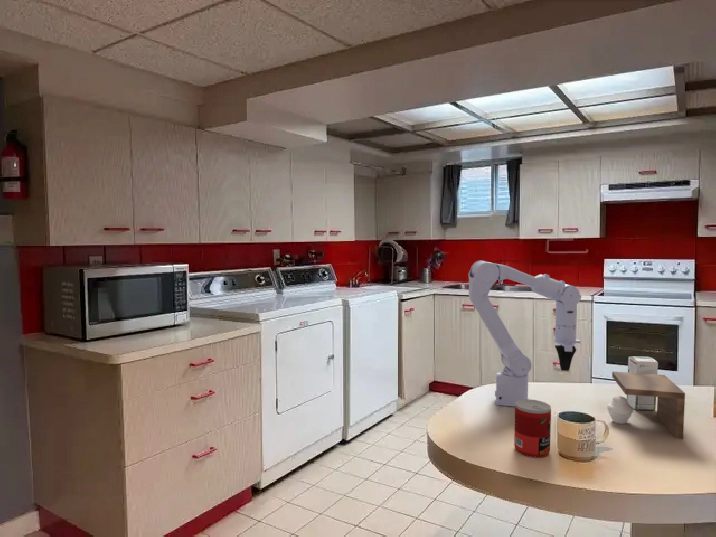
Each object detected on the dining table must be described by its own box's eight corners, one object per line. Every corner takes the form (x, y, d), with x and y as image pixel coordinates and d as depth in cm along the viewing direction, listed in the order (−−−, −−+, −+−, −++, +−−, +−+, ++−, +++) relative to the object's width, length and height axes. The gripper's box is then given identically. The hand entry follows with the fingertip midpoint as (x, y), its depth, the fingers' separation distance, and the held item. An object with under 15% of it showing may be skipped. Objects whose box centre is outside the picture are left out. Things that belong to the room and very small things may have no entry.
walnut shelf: (624, 433, 124) (625, 388, 124) (611, 411, 140) (612, 371, 139) (683, 438, 121) (685, 393, 120) (662, 415, 136) (664, 374, 135)
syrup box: (646, 403, 146) (648, 355, 145) (656, 411, 140) (658, 360, 139) (626, 403, 146) (627, 355, 145) (635, 410, 140) (637, 360, 139)
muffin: (610, 425, 130) (611, 399, 129) (603, 416, 136) (604, 391, 135) (635, 426, 129) (636, 400, 128) (628, 418, 135) (629, 393, 134)
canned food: (546, 461, 109) (547, 413, 109) (510, 453, 114) (510, 406, 113) (553, 448, 116) (554, 402, 115) (518, 441, 120) (519, 397, 119)
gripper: (584, 330, 137) (583, 378, 138) (577, 321, 151) (575, 364, 152) (557, 329, 139) (556, 376, 140) (552, 320, 153) (551, 363, 154)
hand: (564, 370), depth 146 cm, fingers closed
